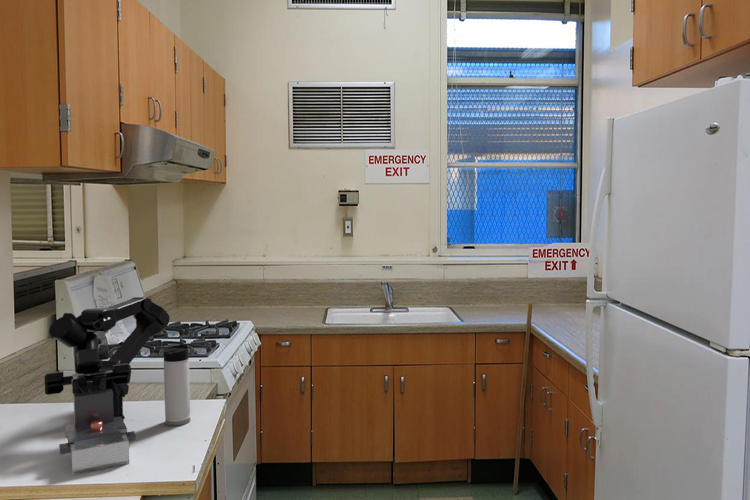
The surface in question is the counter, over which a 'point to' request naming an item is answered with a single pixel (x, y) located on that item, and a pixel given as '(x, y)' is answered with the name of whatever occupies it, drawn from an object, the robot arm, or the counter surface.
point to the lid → (94, 416)
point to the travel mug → (176, 385)
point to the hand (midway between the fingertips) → (91, 409)
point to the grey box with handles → (98, 452)
